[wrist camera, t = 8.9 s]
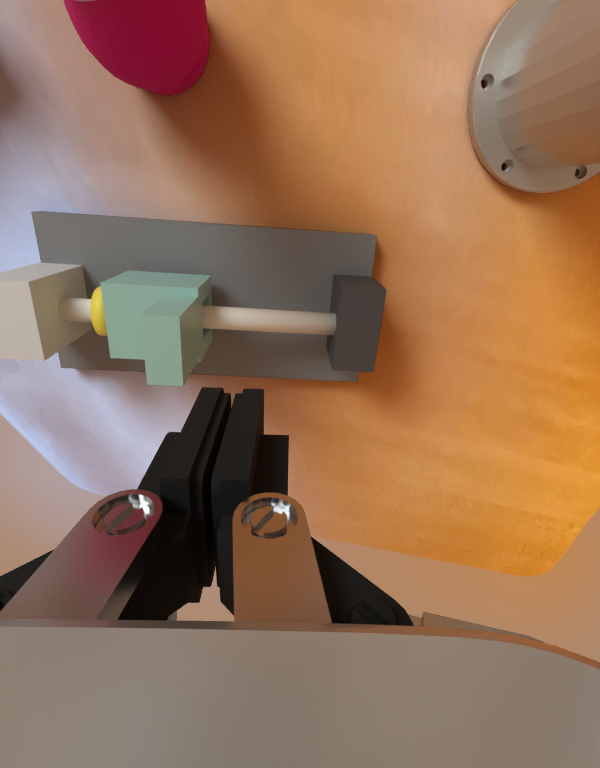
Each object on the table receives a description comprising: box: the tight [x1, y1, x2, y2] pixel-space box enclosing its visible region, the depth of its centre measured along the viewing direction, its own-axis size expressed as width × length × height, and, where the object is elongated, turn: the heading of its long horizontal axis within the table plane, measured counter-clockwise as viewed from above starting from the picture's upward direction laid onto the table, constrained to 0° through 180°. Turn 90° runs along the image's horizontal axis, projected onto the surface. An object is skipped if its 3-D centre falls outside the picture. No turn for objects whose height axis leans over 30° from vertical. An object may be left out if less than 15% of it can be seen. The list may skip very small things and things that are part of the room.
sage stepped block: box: [100, 270, 213, 386], centre depth 26 cm, size 6×5×10 cm
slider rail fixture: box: [0, 211, 386, 382], centre depth 29 cm, size 25×12×8 cm, turn 86°
